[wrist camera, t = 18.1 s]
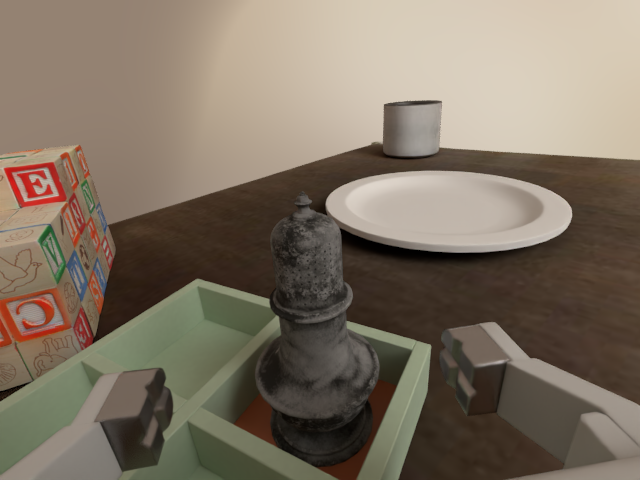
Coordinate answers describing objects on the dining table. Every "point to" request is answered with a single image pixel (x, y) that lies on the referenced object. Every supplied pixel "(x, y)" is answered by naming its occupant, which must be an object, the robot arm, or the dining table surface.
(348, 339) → the grey chess piece
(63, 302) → the stack of blocks
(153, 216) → the dining table surface
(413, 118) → the planter
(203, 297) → the grid
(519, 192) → the plate
